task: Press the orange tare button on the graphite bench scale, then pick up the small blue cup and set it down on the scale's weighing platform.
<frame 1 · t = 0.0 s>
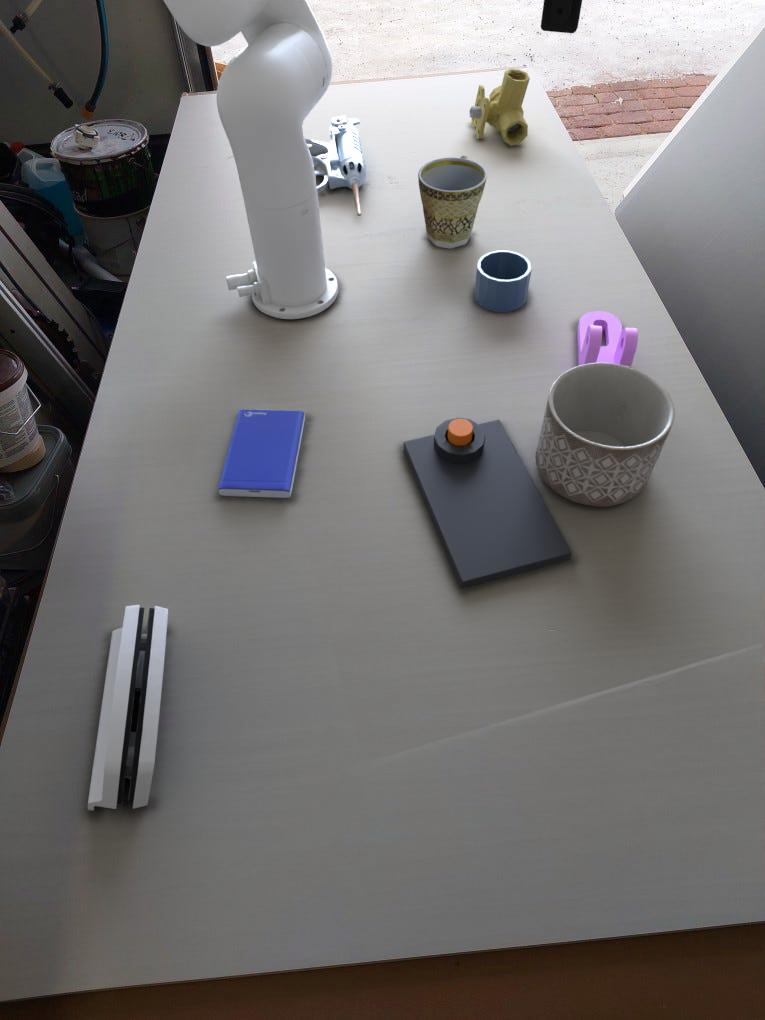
hand: (567, 11, 64), 37 cm above the table, tool pointing down, fingers open, 9 cm apart
ceramic cup: (451, 232, 110), on the table
tare button: (460, 432, 78), point 4 cm above the table, slide at 0.1 cm
ball valve: (495, 132, 129), on the table
scale: (481, 501, 77), on the table
white slotted block: (144, 714, 63), on the table
bracket: (599, 351, 92), on the table
planter: (589, 470, 79), on the table
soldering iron: (322, 182, 120), on the table
hard drive: (265, 457, 82), on the table
blue cup: (500, 296, 99), on the table
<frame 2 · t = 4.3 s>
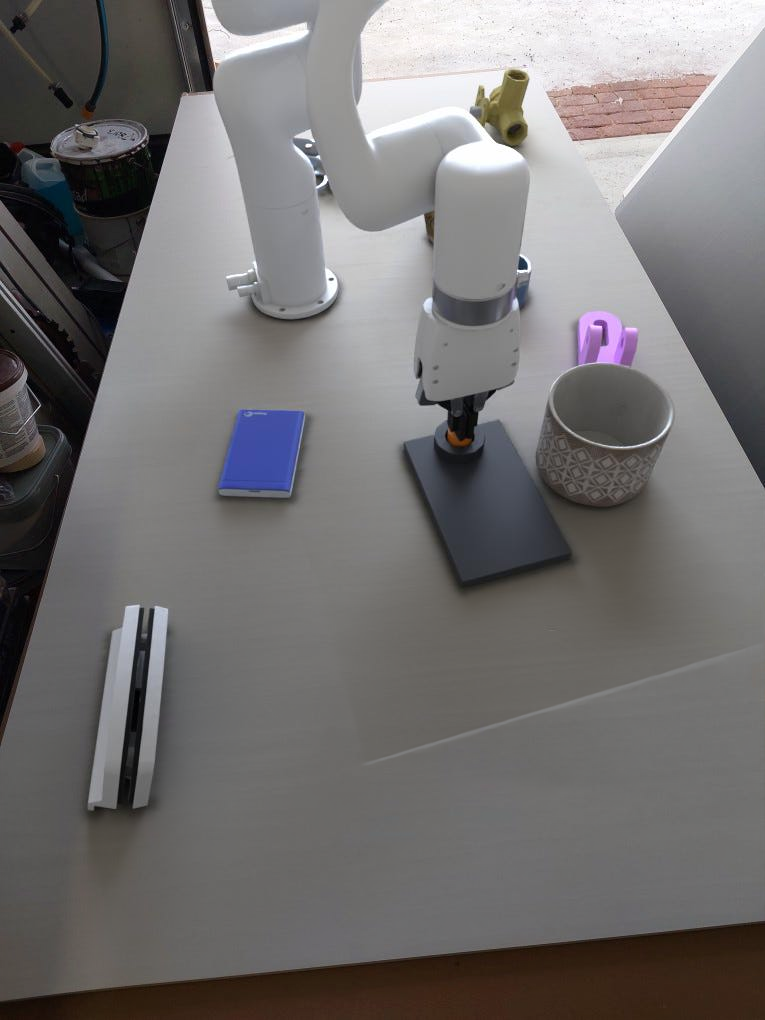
hand: (461, 431, 78), 4 cm above the table, tool pointing down, fingers closed
tare button: (459, 435, 79), point 3 cm above the table, slide at -0.4 cm, touching gripper
everything else where it was.
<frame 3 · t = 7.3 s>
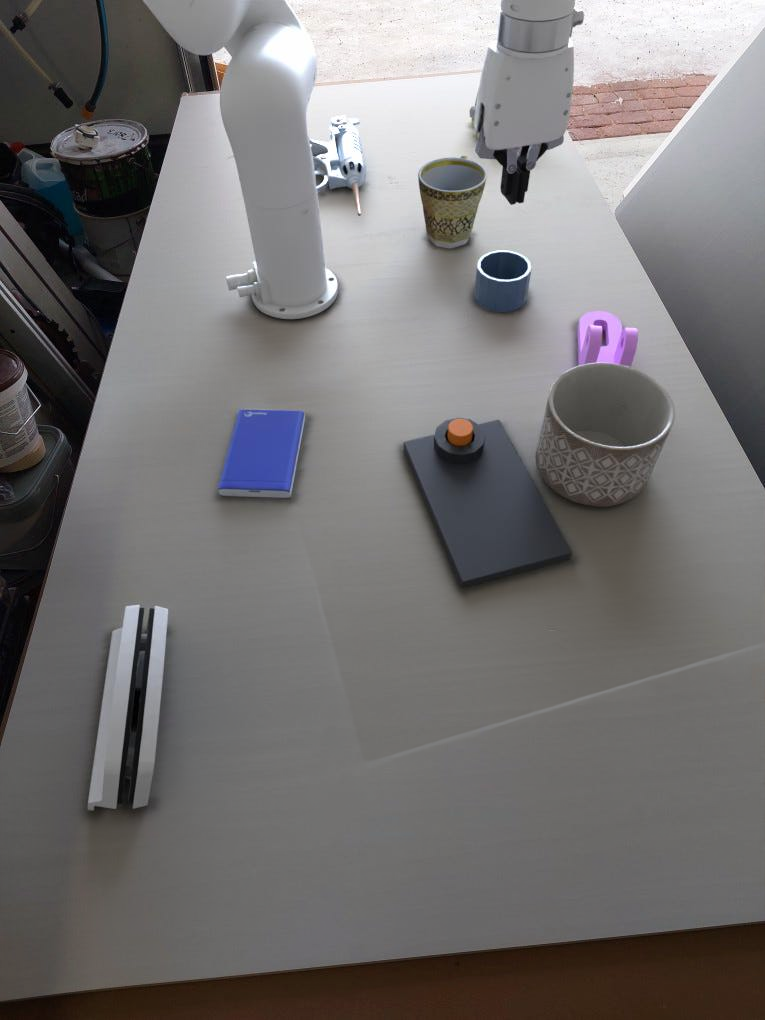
hand: (512, 198, 86), 15 cm above the table, tool pointing down, fingers closed
tare button: (460, 432, 78), point 4 cm above the table, slide at 0.1 cm
everything else where it was.
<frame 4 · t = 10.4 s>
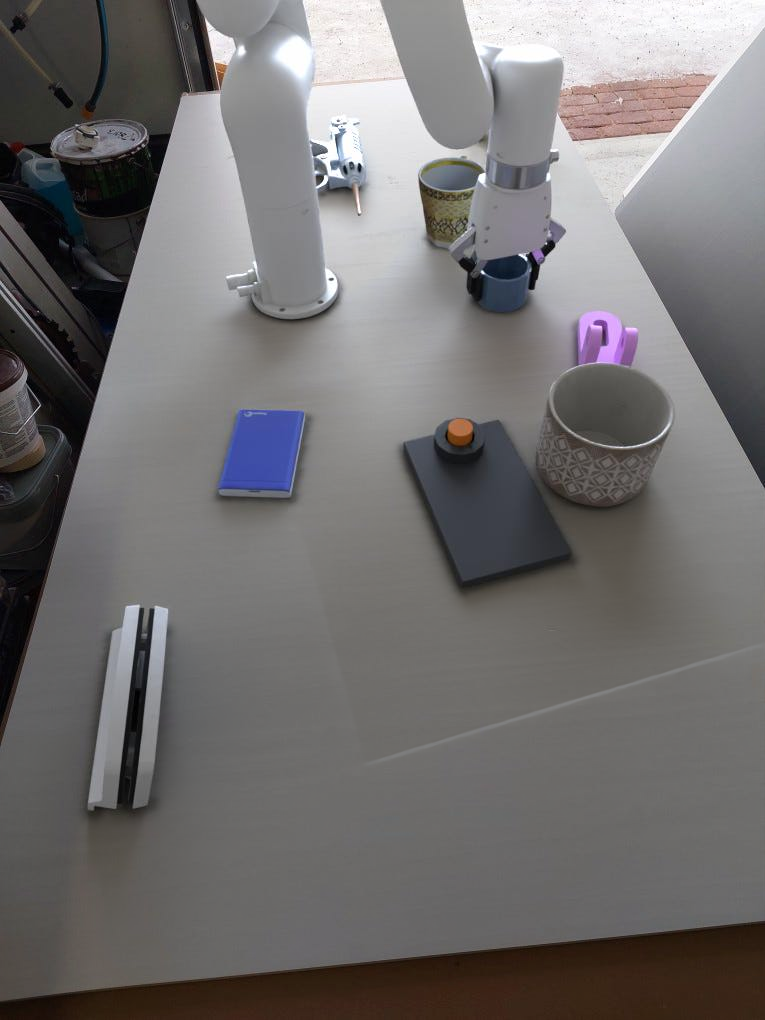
hand: (501, 289, 98), 1 cm above the table, tool pointing down, fingers closed on blue cup, 7 cm apart
blue cup: (500, 296, 99), on the table, touching gripper
everything else where it was.
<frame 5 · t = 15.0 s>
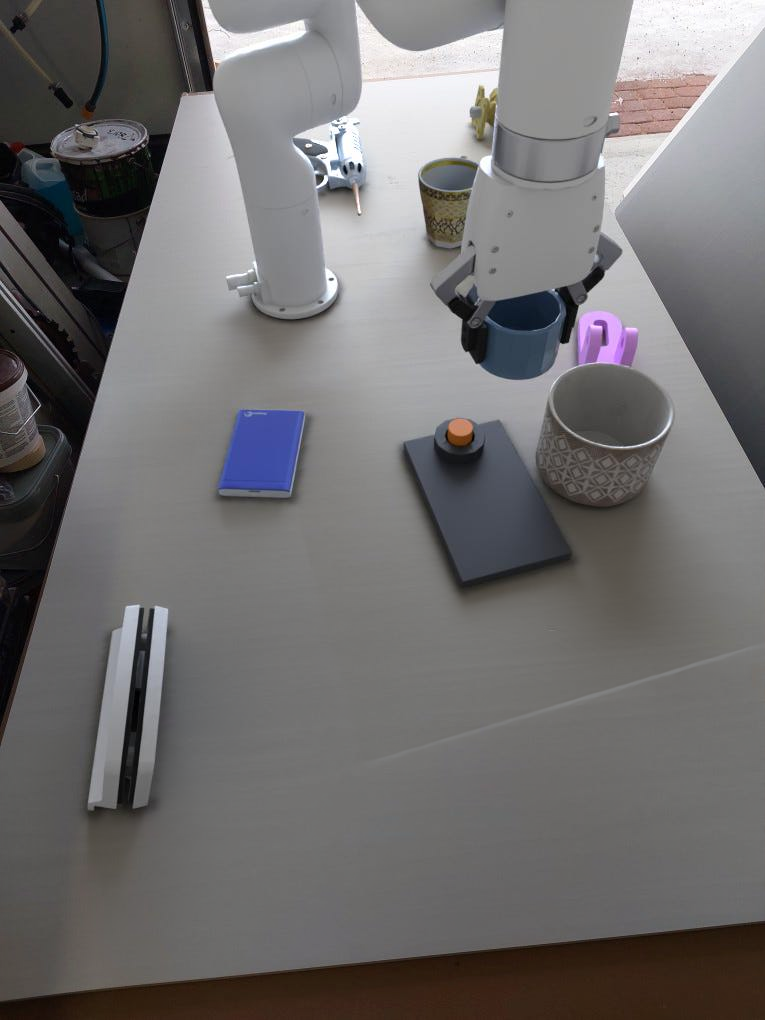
hand: (516, 343, 62), 20 cm above the table, tool pointing down, fingers closed on blue cup, 7 cm apart
blue cup: (514, 352, 63), point 19 cm above the table, touching gripper
everything else where it was.
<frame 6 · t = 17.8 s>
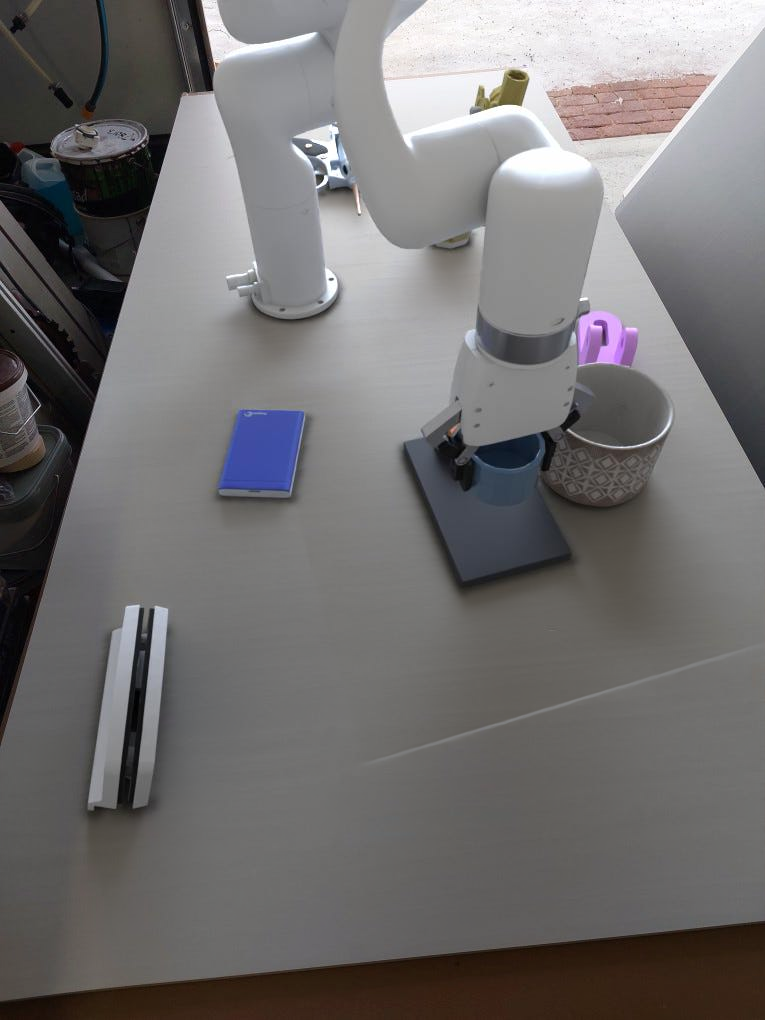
hand: (500, 470, 68), 9 cm above the table, tool pointing down, fingers closed on blue cup, 7 cm apart
blue cup: (499, 477, 69), point 8 cm above the table, touching gripper
everything else where it was.
when the fingers open (2 cm above the table, at t = 20.0 s): blue cup stays where it is, resting on scale.
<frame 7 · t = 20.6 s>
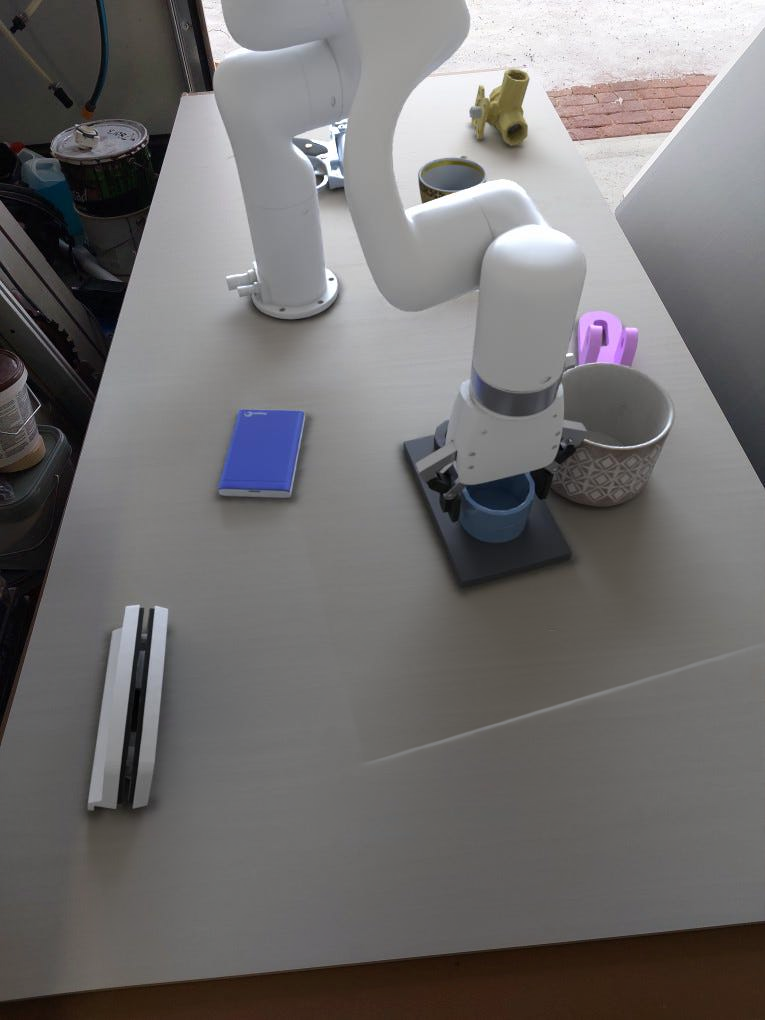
hand: (494, 500, 72), 4 cm above the table, tool pointing down, fingers open, 9 cm apart
blue cup: (493, 514, 74), point 1 cm above the table, touching scale
everything else where it was.
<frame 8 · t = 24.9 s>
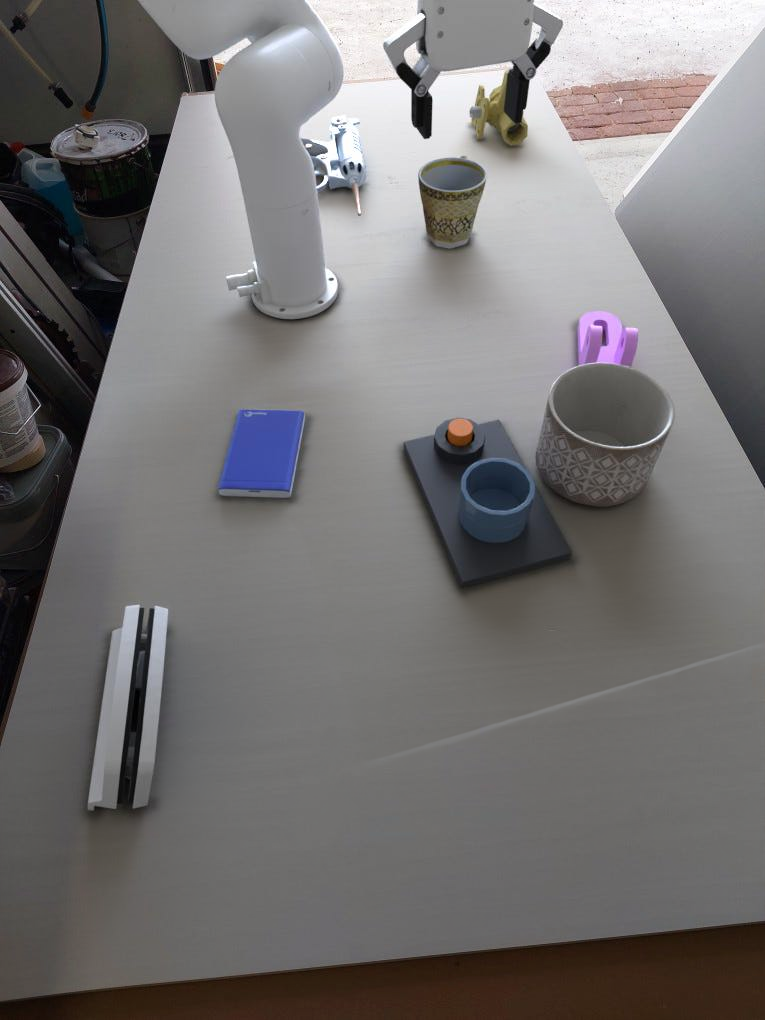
hand: (468, 125, 70), 28 cm above the table, tool pointing down, fingers open, 9 cm apart
nothing on the table moved.
at the end: tare button pushed in 0.9 cm at the most during the clip, back to where it started at the end; blue cup inside the target area on the scale (0.4 cm from its centre), point 1.4 cm above the scale's base; blue cup touching scale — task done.
